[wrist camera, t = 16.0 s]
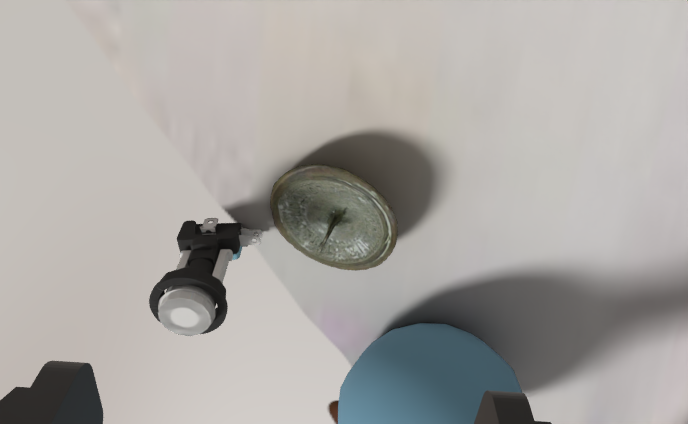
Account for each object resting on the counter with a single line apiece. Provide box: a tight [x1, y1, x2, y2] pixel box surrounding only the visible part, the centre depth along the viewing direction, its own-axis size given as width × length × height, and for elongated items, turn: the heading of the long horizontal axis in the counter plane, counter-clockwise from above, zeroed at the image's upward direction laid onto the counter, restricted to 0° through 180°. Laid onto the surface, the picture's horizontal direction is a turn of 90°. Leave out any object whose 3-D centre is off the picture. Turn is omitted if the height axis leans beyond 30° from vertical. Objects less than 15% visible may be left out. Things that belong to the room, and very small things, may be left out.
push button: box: [149, 218, 262, 336], centre depth 42 cm, size 7×5×10 cm
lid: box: [270, 164, 398, 270], centre depth 43 cm, size 11×10×5 cm
